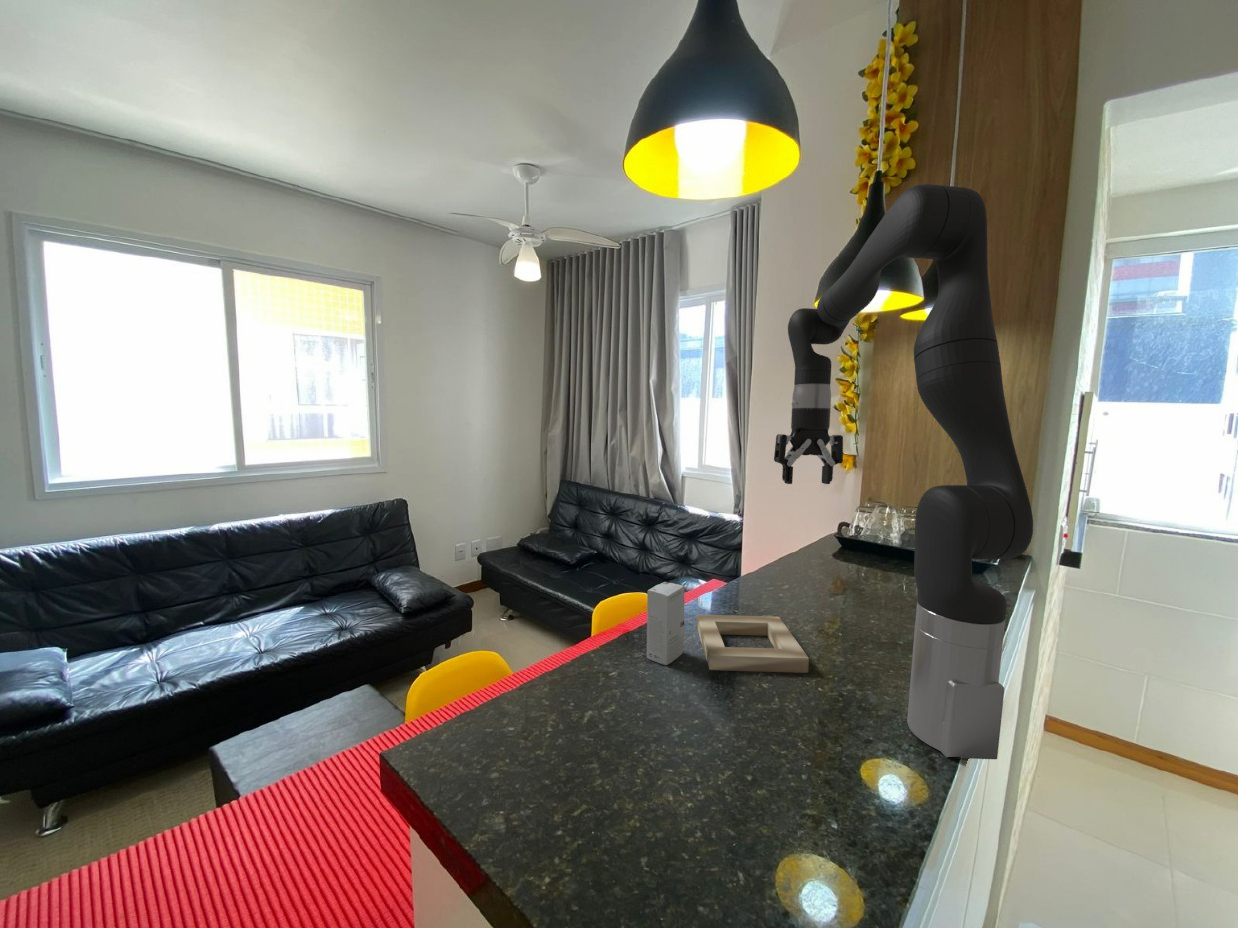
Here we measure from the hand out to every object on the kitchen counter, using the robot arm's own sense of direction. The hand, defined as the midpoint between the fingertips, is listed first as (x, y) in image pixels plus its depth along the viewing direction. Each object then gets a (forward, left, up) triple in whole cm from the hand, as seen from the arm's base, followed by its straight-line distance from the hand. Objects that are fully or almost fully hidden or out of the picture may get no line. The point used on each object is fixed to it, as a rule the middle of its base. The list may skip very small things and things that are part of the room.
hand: (807, 483), depth 101 cm
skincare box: (-22, +31, -28) cm, 47 cm away
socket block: (-19, +16, -27) cm, 37 cm away
